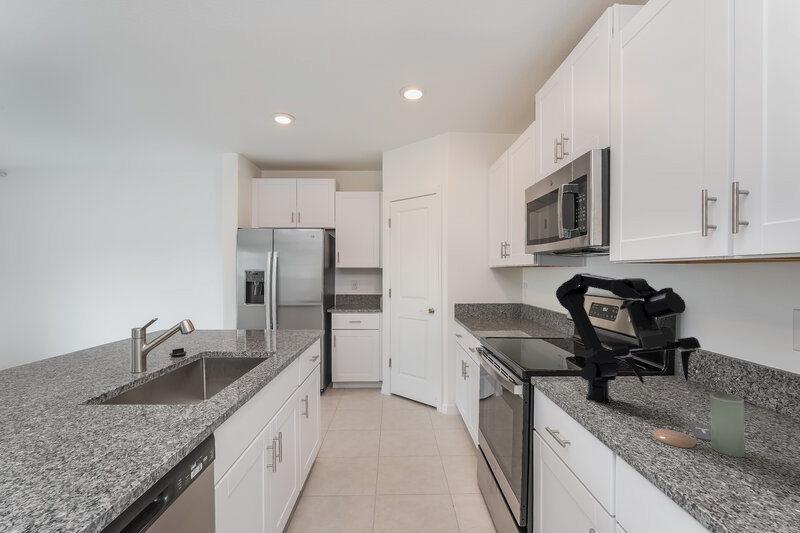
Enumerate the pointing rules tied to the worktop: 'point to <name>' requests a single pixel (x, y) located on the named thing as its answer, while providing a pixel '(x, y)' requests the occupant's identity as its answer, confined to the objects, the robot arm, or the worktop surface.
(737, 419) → the green tumbler
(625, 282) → the robot arm
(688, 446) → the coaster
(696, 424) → the tile
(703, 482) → the worktop surface
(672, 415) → the worktop surface
